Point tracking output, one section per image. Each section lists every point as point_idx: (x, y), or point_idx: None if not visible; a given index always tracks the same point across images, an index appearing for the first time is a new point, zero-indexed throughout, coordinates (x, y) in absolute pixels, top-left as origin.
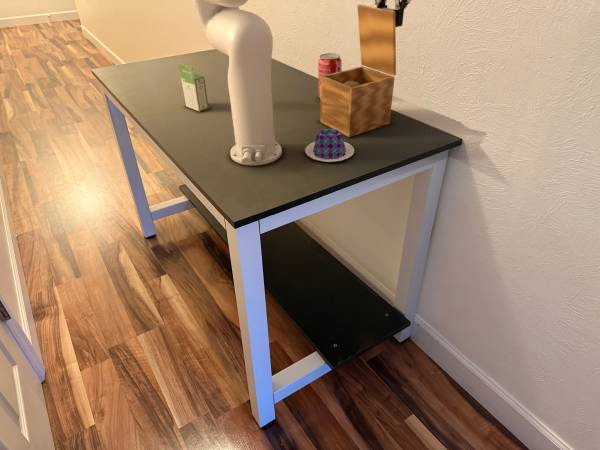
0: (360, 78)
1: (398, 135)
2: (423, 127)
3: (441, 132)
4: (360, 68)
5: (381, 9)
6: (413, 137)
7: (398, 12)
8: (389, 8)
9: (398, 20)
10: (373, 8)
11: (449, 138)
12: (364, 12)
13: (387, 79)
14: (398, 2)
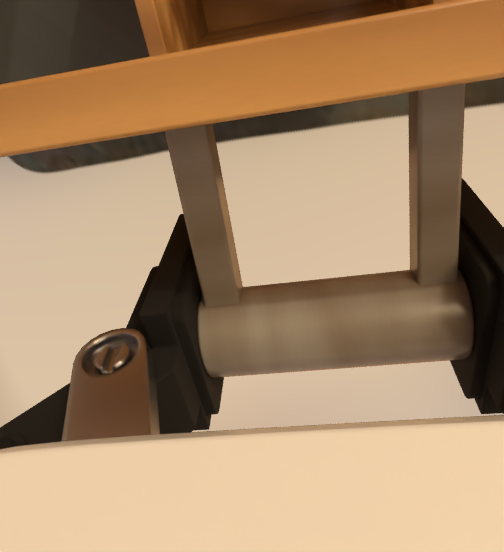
0: (413, 4)
1: (88, 5)
2: (126, 140)
3: (73, 164)
4: (431, 3)
5: (117, 92)
6: (57, 50)
7: (135, 328)
8: (347, 354)
9: (151, 280)
10: (338, 25)
11: (24, 156)
12: None
13: (141, 24)
14: (69, 407)
